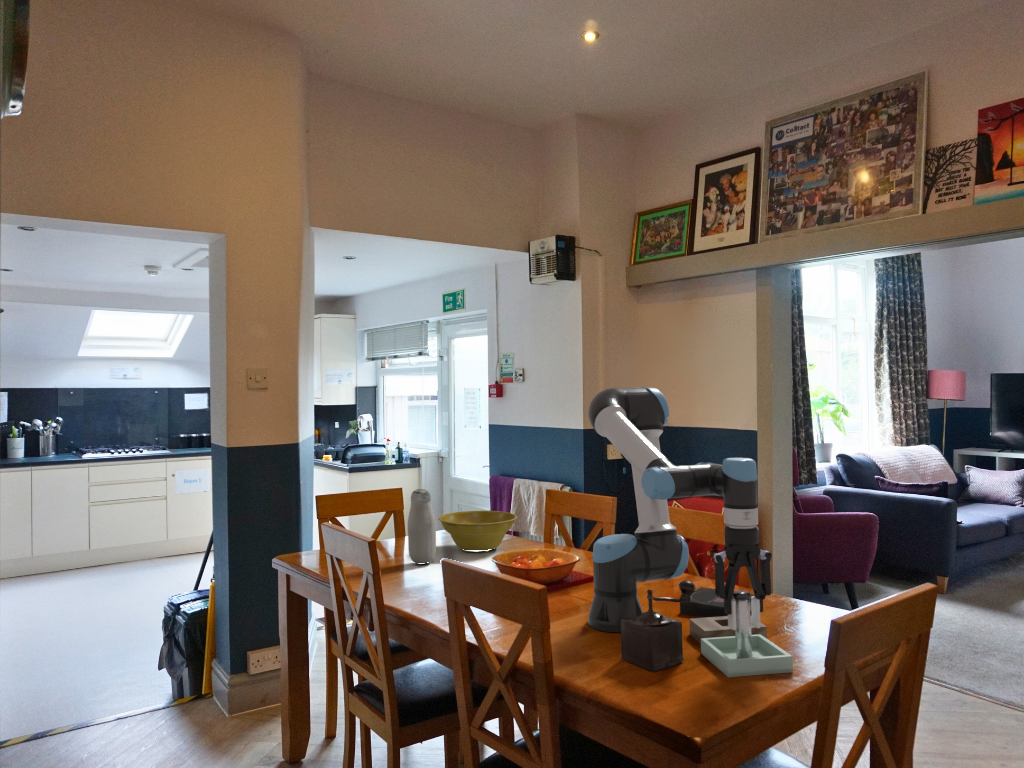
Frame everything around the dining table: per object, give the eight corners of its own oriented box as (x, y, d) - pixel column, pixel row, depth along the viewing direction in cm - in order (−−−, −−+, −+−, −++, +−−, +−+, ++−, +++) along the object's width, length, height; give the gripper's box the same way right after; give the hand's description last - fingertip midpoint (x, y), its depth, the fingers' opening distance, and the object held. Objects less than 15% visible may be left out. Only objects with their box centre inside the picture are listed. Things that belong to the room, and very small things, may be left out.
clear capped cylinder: (740, 662, 164) (736, 595, 165) (732, 656, 168) (728, 591, 169) (757, 660, 165) (752, 593, 166) (749, 655, 169) (745, 589, 170)
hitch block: (705, 647, 177) (704, 631, 177) (689, 634, 187) (689, 618, 187) (767, 642, 179) (766, 626, 179) (748, 630, 189) (748, 614, 189)
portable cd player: (740, 624, 195) (740, 609, 195) (680, 614, 205) (679, 600, 205) (758, 609, 209) (758, 595, 209) (701, 600, 218) (701, 587, 219)
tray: (728, 677, 158) (727, 661, 158) (701, 653, 173) (700, 638, 173) (792, 672, 160) (792, 656, 160) (760, 648, 175) (760, 634, 175)
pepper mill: (654, 673, 161) (652, 592, 162) (620, 659, 170) (618, 582, 171) (701, 658, 170) (699, 581, 170) (666, 645, 179) (664, 572, 179)
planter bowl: (532, 545, 302) (531, 513, 302) (489, 561, 275) (488, 525, 275) (469, 538, 319) (468, 508, 319) (422, 553, 292) (422, 519, 292)
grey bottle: (441, 562, 275) (439, 488, 275) (424, 568, 266) (422, 491, 266) (421, 559, 280) (419, 487, 280) (403, 565, 271) (401, 490, 272)
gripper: (710, 530, 162) (713, 635, 162) (786, 526, 165) (789, 629, 164) (697, 524, 170) (700, 624, 169) (770, 521, 172) (773, 619, 172)
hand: (744, 627), depth 167 cm, fingers open, 5 cm apart
